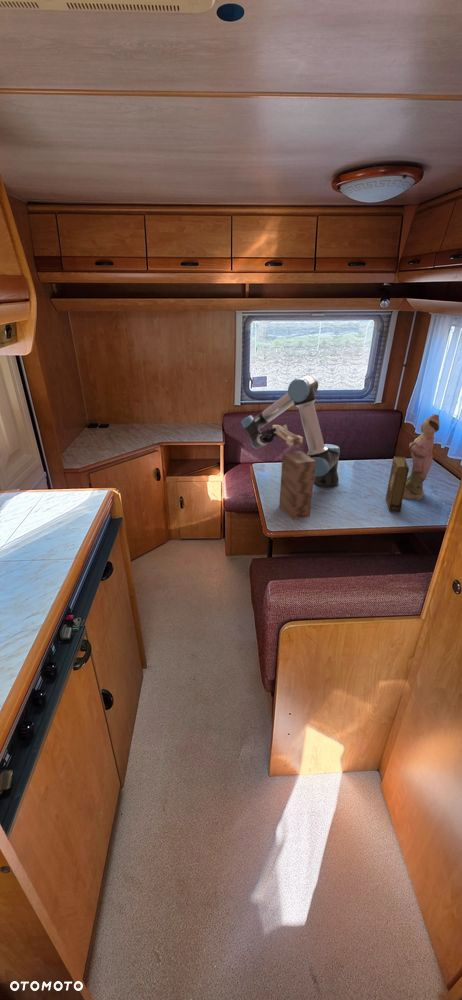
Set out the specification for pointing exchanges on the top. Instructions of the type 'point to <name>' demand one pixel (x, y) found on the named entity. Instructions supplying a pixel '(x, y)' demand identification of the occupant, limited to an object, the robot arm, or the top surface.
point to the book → (397, 483)
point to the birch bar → (289, 436)
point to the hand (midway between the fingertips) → (282, 427)
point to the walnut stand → (297, 484)
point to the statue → (421, 458)
